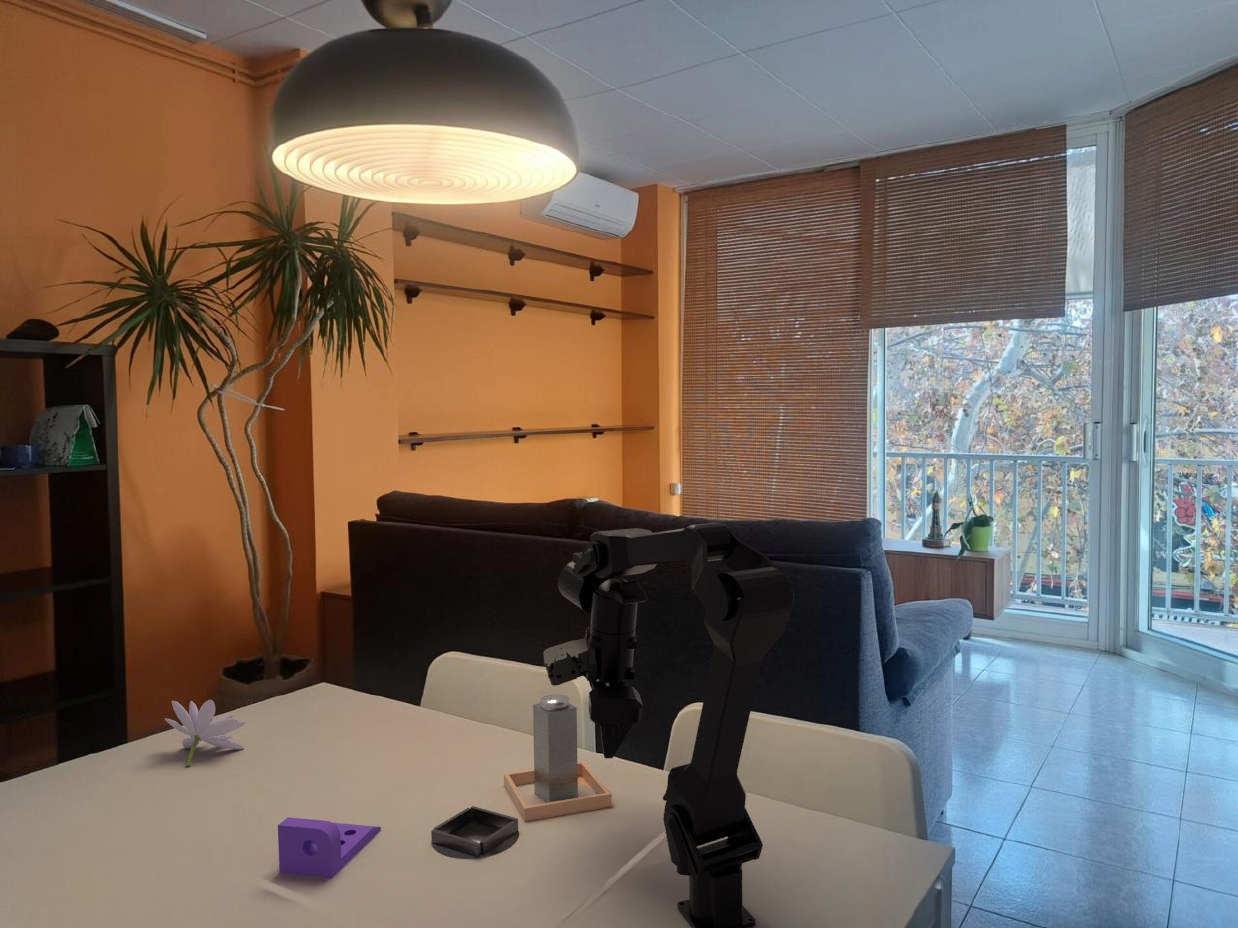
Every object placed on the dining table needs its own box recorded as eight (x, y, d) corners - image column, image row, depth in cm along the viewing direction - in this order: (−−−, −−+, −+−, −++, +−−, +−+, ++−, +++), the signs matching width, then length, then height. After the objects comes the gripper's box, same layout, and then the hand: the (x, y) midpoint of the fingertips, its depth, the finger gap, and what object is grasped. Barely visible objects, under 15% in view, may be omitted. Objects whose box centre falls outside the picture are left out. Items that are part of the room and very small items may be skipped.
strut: (577, 798, 123) (576, 700, 122) (549, 806, 121) (547, 706, 120) (562, 787, 127) (561, 691, 126) (534, 794, 124) (532, 697, 124)
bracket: (332, 887, 102) (330, 829, 102) (279, 881, 104) (277, 825, 103) (381, 838, 114) (379, 786, 114) (333, 833, 115) (331, 782, 115)
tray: (611, 811, 120) (611, 793, 120) (524, 826, 116) (524, 808, 116) (584, 777, 131) (583, 761, 131) (504, 790, 127) (503, 773, 127)
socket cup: (536, 834, 114) (535, 816, 113) (481, 873, 104) (481, 853, 104) (470, 816, 119) (470, 798, 119) (412, 850, 110) (412, 832, 110)
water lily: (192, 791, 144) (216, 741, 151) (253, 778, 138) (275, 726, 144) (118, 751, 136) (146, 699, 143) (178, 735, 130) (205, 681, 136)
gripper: (546, 598, 119) (540, 704, 122) (552, 655, 101) (544, 778, 104) (627, 600, 120) (619, 705, 123) (647, 657, 102) (637, 778, 105)
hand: (604, 738), depth 114 cm, fingers open, 9 cm apart
